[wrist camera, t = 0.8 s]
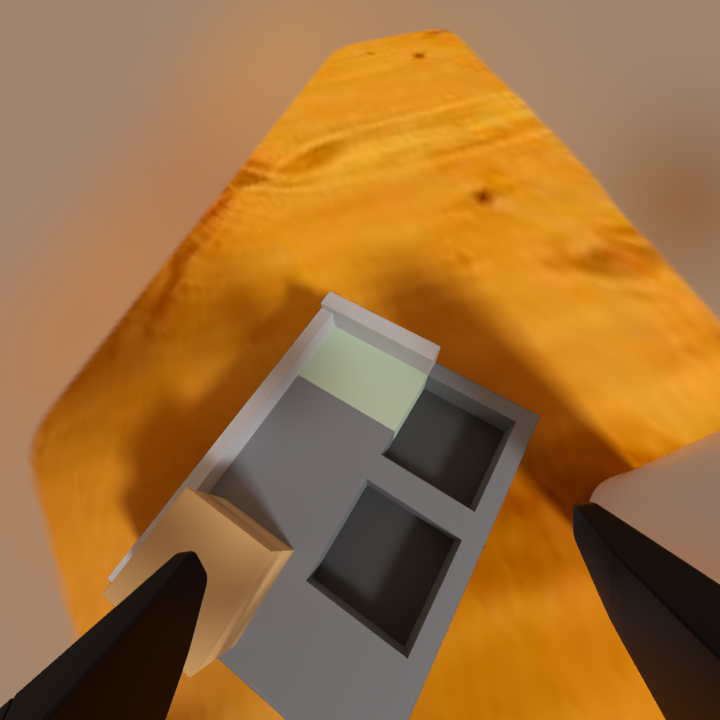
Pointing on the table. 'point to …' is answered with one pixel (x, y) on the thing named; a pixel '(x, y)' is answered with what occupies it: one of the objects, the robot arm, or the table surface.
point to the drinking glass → (673, 502)
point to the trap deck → (360, 511)
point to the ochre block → (210, 568)
